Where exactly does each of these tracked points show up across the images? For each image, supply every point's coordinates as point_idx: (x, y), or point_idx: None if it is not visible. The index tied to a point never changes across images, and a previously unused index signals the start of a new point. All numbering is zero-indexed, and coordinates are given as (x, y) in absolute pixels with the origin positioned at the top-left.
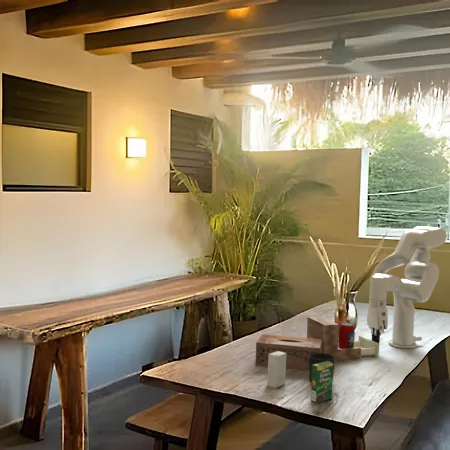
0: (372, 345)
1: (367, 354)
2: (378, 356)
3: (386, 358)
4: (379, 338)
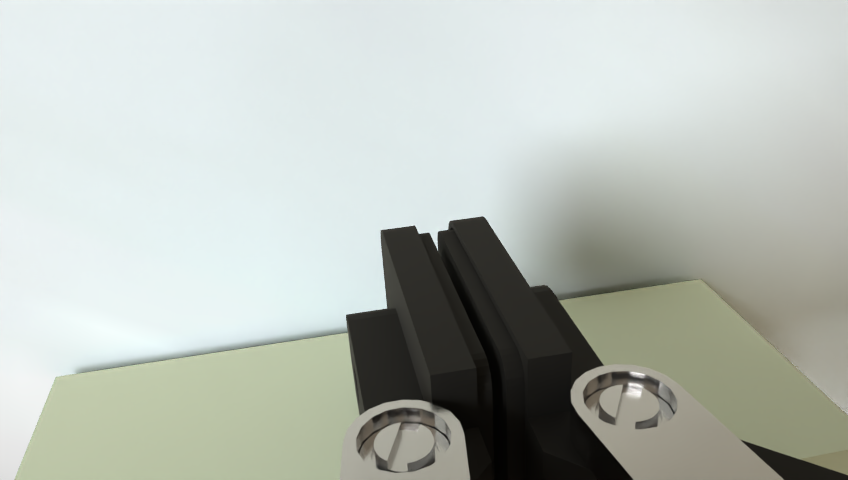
0: None
1: None
2: (705, 290)
3: (770, 153)
4: (525, 292)
